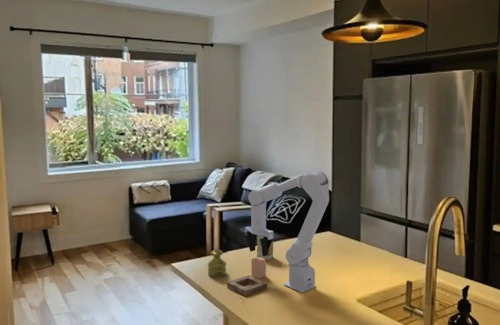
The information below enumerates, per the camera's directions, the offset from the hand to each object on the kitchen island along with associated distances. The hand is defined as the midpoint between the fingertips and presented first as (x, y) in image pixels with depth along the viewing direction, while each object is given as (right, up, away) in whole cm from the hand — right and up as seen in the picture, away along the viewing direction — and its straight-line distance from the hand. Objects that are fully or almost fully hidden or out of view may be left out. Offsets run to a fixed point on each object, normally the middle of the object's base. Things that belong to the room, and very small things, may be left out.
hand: (258, 253), depth 175 cm
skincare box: (+3, -7, +23) cm, 25 cm away
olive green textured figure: (-17, -9, +4) cm, 20 cm away
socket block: (-5, -11, -11) cm, 16 cm away
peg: (0, -9, +1) cm, 9 cm away
